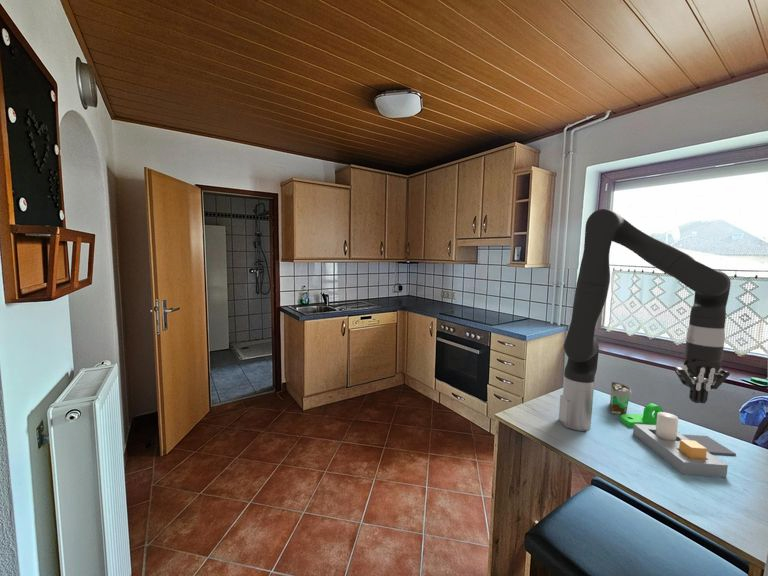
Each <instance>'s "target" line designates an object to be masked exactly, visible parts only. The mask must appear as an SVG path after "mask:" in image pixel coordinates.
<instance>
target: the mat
mask: <svg viewBox="0 0 768 576" xmlns="http://www.w3.org/2000/svg"><path fill="white" fill-rule="evenodd" d="M682 435H683V436H685V437H686V438H688V439H689V440H692V441H696V442H698V443H699V444H701V445H702V446H704V447H705V448H707V452H709V453H710V454H712V455H721V456H736V455H737V454H736V452H734V451H732V450H730V449H729V448H727V446H725V445H722V444H721V443H719V442H718V441H716V440H714V439H713V438H711V437H710V436H708V435H697V434H696V435H695V434H682Z"/></svg>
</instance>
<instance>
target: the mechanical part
mask: <svg viewBox="0 0 768 576" xmlns="http://www.w3.org/2000/svg"><path fill="white" fill-rule="evenodd" d="M658 412H664V409H663V408H662V406H659V405H657V404H655V403H648V404H647V405H645V406H644V409H643V413H626V414H622V415H620V422H622V423H623V424H624V425H626V426H627V427H629V428H633V427H634V424H645V425H656V423H657V413H658Z"/></svg>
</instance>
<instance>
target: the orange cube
mask: <svg viewBox="0 0 768 576" xmlns="http://www.w3.org/2000/svg"><path fill="white" fill-rule="evenodd" d="M679 451H680V452H682V453H683V454H684V455H686V456H687V457H688V458H690V459H703V460H706V452H707V448H705V447H704V446H702V445H701V444H699V443H698V442H696V441H692V440H680V445H679Z"/></svg>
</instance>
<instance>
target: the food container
mask: <svg viewBox="0 0 768 576" xmlns="http://www.w3.org/2000/svg"><path fill="white" fill-rule="evenodd" d="M610 387H611V388H610V397H609V398H610V401H609V404H610V411H611V415H614V416H615V415H618V416H621V415H622V414H627V411H628V407H629V400H630V397H631V396H632V395H633V393H632V389H631V387H630V386H628V385H626V384H624V383H622V382H618V381H614V380H612V381H611V386H610Z"/></svg>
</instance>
